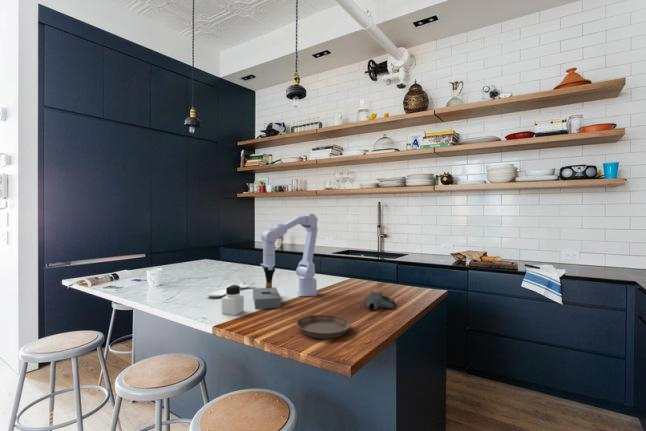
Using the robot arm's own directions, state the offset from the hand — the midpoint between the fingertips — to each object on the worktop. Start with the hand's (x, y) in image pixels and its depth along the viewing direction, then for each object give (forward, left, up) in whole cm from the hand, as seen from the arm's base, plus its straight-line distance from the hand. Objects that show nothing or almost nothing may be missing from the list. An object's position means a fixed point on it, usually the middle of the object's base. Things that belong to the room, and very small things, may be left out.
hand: (268, 282), depth 170 cm
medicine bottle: (+17, +14, -10) cm, 24 cm away
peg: (0, 0, -3) cm, 3 cm away
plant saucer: (-17, +45, -11) cm, 49 cm away
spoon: (+19, -25, -11) cm, 33 cm away
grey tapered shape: (-53, +16, -11) cm, 56 cm away
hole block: (+1, 0, -10) cm, 10 cm away
